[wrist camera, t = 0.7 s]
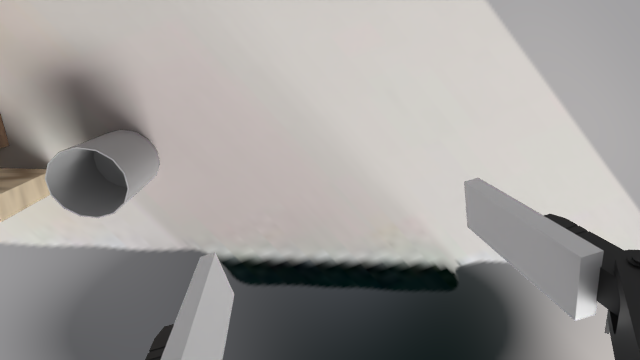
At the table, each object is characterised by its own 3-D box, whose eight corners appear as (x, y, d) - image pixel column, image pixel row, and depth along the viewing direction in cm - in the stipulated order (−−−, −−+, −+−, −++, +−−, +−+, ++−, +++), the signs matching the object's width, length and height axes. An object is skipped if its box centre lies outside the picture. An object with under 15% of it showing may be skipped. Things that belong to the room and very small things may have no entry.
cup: (113, 193, 45) (70, 226, 36) (83, 139, 42) (28, 160, 33) (169, 177, 46) (141, 205, 36) (144, 122, 43) (106, 138, 33)
